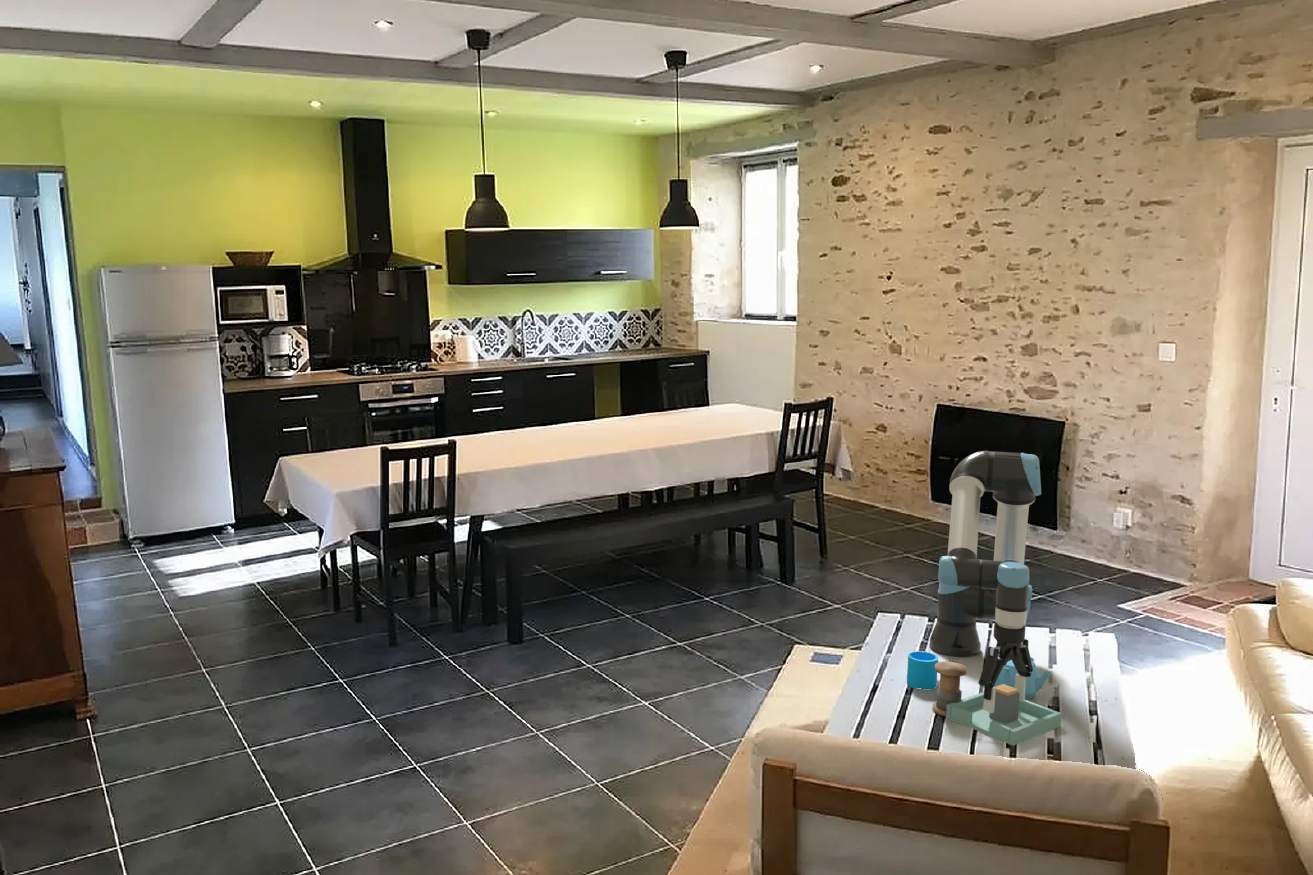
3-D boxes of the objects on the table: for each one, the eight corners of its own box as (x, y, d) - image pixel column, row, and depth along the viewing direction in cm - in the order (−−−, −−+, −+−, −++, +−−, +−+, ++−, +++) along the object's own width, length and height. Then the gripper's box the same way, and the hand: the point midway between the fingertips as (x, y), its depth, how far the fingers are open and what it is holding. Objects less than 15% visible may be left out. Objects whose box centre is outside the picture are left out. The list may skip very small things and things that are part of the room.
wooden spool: (945, 702, 280) (948, 659, 278) (970, 712, 274) (973, 668, 272) (925, 709, 275) (928, 665, 273) (950, 719, 269) (953, 674, 267)
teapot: (1052, 707, 278) (1055, 666, 276) (1001, 707, 278) (1004, 666, 276) (1030, 685, 293) (1033, 646, 292) (981, 685, 293) (984, 646, 291)
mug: (927, 692, 287) (929, 663, 286) (901, 684, 292) (902, 656, 291) (948, 681, 296) (950, 653, 294) (922, 673, 301) (924, 646, 300)
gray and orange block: (1017, 719, 267) (1020, 689, 266) (1006, 724, 264) (1008, 693, 263) (1001, 712, 271) (1003, 683, 270) (989, 717, 268) (991, 687, 267)
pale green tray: (993, 700, 282) (994, 688, 281) (1060, 726, 266) (1061, 713, 266) (946, 717, 270) (946, 704, 270) (1013, 745, 254) (1014, 732, 254)
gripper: (1025, 612, 274) (1019, 690, 278) (967, 628, 260) (961, 711, 263) (1051, 619, 268) (1045, 699, 272) (992, 637, 254) (987, 721, 257)
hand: (1004, 705), depth 267 cm, fingers open, 12 cm apart
